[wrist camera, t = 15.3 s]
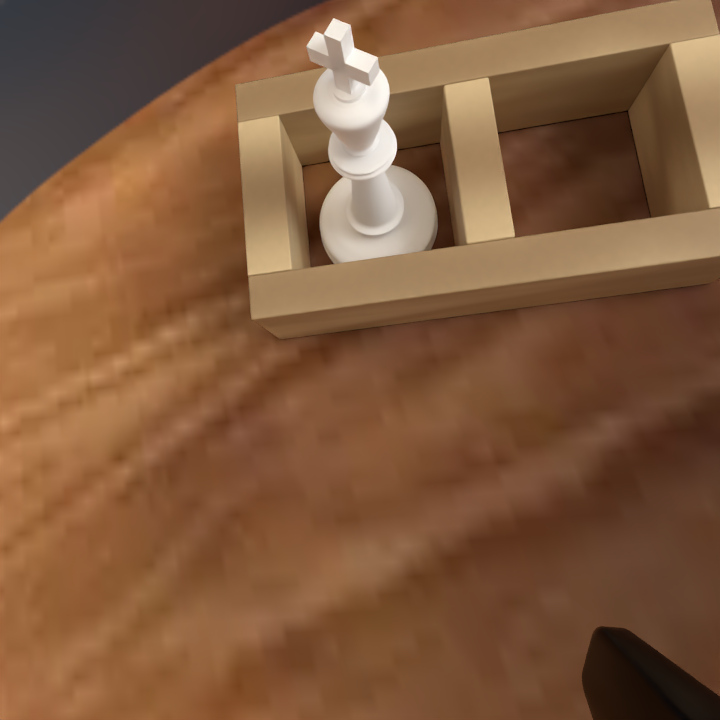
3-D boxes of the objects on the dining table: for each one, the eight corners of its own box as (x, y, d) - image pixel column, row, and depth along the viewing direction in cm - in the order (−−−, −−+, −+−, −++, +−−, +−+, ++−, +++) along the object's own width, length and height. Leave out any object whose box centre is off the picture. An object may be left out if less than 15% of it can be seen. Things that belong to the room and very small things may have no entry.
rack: (711, 283, 18) (776, 248, 15) (279, 339, 20) (250, 319, 17) (660, 69, 20) (709, -8, 17) (264, 139, 22) (234, 84, 18)
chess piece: (357, 153, 21) (299, -94, 11) (459, 200, 20) (493, -25, 10) (299, 249, 21) (188, 81, 11) (401, 302, 20) (379, 169, 10)
